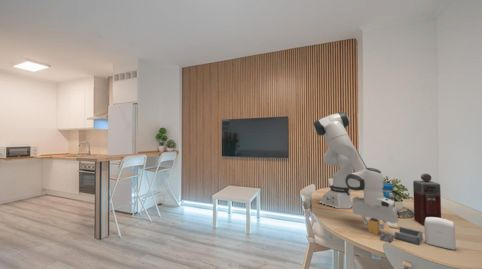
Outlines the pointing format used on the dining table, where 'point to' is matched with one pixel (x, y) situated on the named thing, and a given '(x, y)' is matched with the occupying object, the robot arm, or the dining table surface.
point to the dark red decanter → (426, 199)
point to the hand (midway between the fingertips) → (374, 226)
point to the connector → (374, 225)
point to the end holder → (409, 235)
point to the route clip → (386, 238)
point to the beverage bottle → (388, 192)
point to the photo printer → (440, 232)
